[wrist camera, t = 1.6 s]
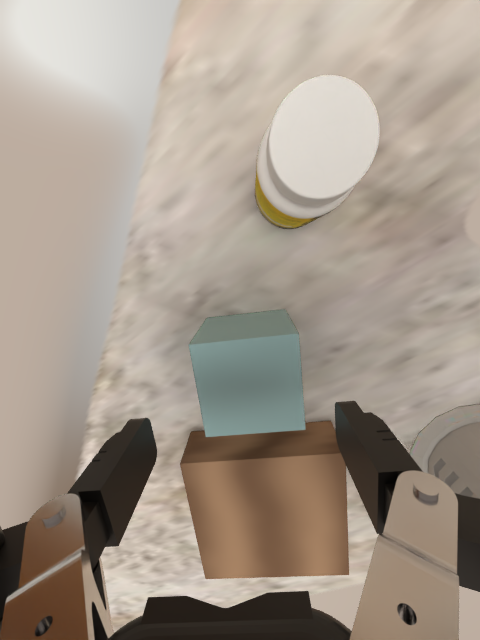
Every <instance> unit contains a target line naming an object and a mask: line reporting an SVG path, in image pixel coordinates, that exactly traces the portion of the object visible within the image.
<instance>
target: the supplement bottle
mask: <svg viewBox="0 0 480 640" xmlns="http://www.w3.org/2000/svg"><path fill="white" fill-rule="evenodd" d="M379 135H380V126H379V118H378V114H377V110H376V108H375V105H374V103H373V101H372V99H371V98H370V96H369V95H368V94H367V92H366V91H365V90H364V89H363V88H362V87H361V86H360V85H358V84H357V83H356V82H354V81H352V80H350V79H348V78H345V77H342V76H337V75H321V76H316V77H313V78H311V79H308V80H306V81H304V82H302V83H301V84H299V85H298V86H297V87H295V88H294V89H293V90H292V91H291V92H290V93H289V94H288V95H287V96H286V97H285V98H284V100H283V101H282V102H281V104H280V105H279V107H278V109H277V111H276V113H275V115H274V117H273V120H272V122H271V124H270V125H269V127H268V128H267V130H266V132H265V134H264V136H263V138H262V141H261V144H260V147H259V150H258V155H257V166H256V183H255V199H256V203H257V206H258V209H259V211H260V212H261V214H262V215H263V217H264V218H265V219H266V220H267V221H268V222H270V223H271V224H273V225H275V226H277V227H280V228H285V229H293V228H298V227H301V226H303V225H306V224H308V223H310V222H312V221H313V220H316V219H317V218H319V217H321V216H323V215H325V214H327V213H329V212H331V211H332V210H334V209H335V208H336V207H338V206H339V205H340V204H341V203H342V202H343V201H344V200H345V199H346V198H347V197H348V195H349V194H350V193H351V191H352V190H353V188H354V186H355V185H356V184H357V183H358V182H359V181H360V180H361V179H362V178H363V176H364V175H365V174H366V172H367V171H368V169H369V168H370V166H371V164H372V162H373V160H374V157H375V155H376V152H377V148H378V143H379Z"/></svg>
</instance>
